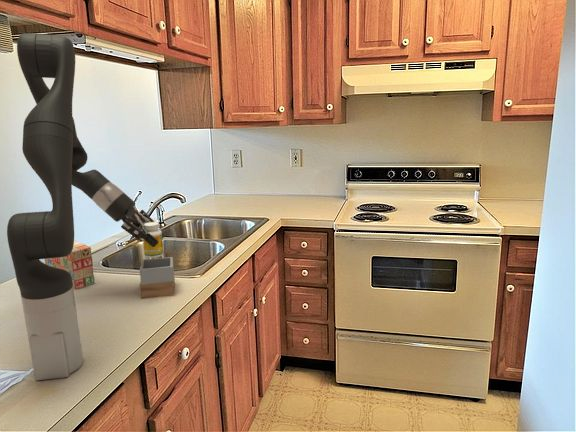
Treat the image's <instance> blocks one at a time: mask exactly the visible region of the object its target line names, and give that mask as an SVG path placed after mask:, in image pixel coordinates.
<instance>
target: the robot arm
mask: <svg viewBox="0 0 576 432" xmlns="http://www.w3.org/2000/svg"><path fill="white" fill-rule="evenodd" d="M16 43H17V44H16V53H17V58H18V63H19V67H20V69H21V71H22V73H23V77H24V79H25V82H26V83H27V86H28V88H29V90H30V93H31V96H32V97H33V100H34V101H35V106H34V107H33V108H32V109H31V111H30V112H29V113H28V114H27V115H26V117H25V119H24V122H23V129H22V130H23V131H22V149H21V150H22V153H23V157H25V160H26V162H27V163H28V165H30V168H31V169H32V170H33V171H34V172H35V174H36V175H37V176H38V177H39V179H40V180H41V181H42V183H43V184H44V186H45V188H46V189H47V191H48V192H49V195H50V198H51V202H52V208H51V210H48V211H47V210H46V211H35V212H34V211H31V212H20V213H15V214H12V216H11V217H10V218H9V219H8V223H7V226H6V227H7V228H6V237H7V243H8V248H9V252H10V256H11V260H12V264H13V269H14V273H15V279H16V282H17V285H18V287H19V292H20V298H21V304H22V309H23V310H22V311H23V315H24V321H25V328H26V333H27V340H28V344H29V351H30V356H31V361H32V368H33V373H34V379H35V381H42V380H43V381H44V380H52V379H54V380H55V379H60V378H68V377H69V376H70V375H71V374H72V373H74V372H76V370H78V369H80V367H82V365H83V363H84V355H83V354H84V353H83V348H82V341H81V335H80V328H79V326H80V325H79V320H78V313H77V306H76V301H75V299H76V298H75V291H74V290H75V289H73V282H72V277H71V274H70V273H69V272H68V271H66V270H63V269H59V268H54V267H51V266H48V265H46V264H45V262H42V261H41V260H45V259H48V258H58V257H65V256H68V255H70V253H71V252H72V250H73V245H74V241H75V222H74V221H75V220H74V218H75V217H74V205H73V190H72V189H73V188H72V186H73V187H75V188H77V189H78V190H80V191H81V192H82V193H83V194H85V195H86V196H87V197H88V198H90V199H91V200H92V201H93V202H94V203H95V204H96V206H98V207H99V209H101V210H102V211H103V212H104V213H105V214H107V216H109V217H110V218H111V219H112V220H113V221H115V222H117V223H118V222H121V221H122V222H123V223H122V224H121V226H120V228H121V229H122V230H124V231H125V232H126V233H128V234H130V235H131V236H132V237H134V238H135V239H136V240H143V239H144V240H145V241H146V242H147V243H149V244H150V245H151V246H152V247H155V246H156V245H157V244H158V240H157V239H155V238H154V237H153V236H152V235H151V234H150V233H149V234H148V231H147V230H146V229H145V225H144V224H146V223H149V222H155V220H154V219H153V218H152V217H151V216H150V215H148V214H147V212H146V211H145V210H144V209H141V210H140V211H138V210H137V209H135V208H134V207H135V206H136V201H134V200H133V199H132V198H131V197H129V196H128V194H126V193H125V192H124V191H123V190H122V189H121V188H119V187H118V186H117V185H116V184H114V182H113V183H112V181H110V180H109V179H108V178H107V177H105V176H104V175H103V174H102V173H101V172H100V171H99V170H97V169H91V170H88V171H85V172H82V171H79V170H80V169H81V168H83V167H85V165H86V164H87V162H88V153H87V152H86V149H85V148H84V147H83V145H82V143H81V141H80V139H79V138H78V135H77V134H78V133H77V130H76V129H77V128H76V123H75V120H74V117H73V98H74V85H75V75H76V73H75V72H76V51H75V47H74V44H73V41H72V40H71V39H69V37H66V36H63V35H56V34H55V35H54V34H47V33H46V34H44V33H43V34H42V33H30V32H29V33H25V32H24V33H21V34H20V35H19V36H18V38H17V42H16ZM44 78H46V79H48V78H49V79H54V81H53V83H52V85H51V87H50V88H49V87H48V86H47V84H46V82H45V80H44ZM164 237H165V234H164V233H162V240H163V239H164Z"/></svg>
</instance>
